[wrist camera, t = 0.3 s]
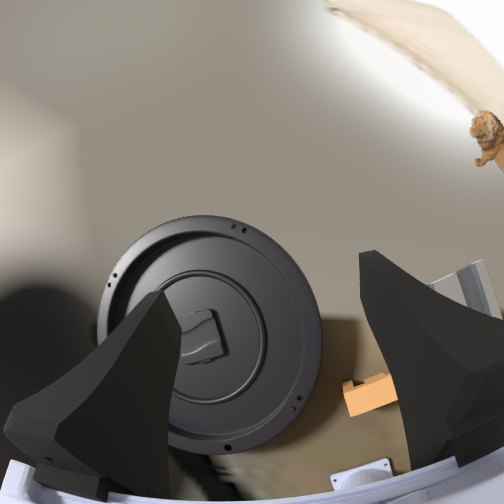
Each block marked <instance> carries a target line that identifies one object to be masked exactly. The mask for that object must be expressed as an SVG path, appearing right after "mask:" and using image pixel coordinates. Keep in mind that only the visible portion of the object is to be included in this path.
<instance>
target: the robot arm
mask: <svg viewBox="0 0 504 504" xmlns="http://www.w3.org/2000/svg"><path fill="white" fill-rule="evenodd" d="M359 268H360V298H361V302H362V305H363V308H364V311H365V315H366V318H367V321H368V323H369V325H370V328H371V330H372V332H373V334H374V337H375V339H376V341H377V343H378V346H379V348H380V350H381V352H382V355H383V357H384V359H385V362H386V364H387V366H388V369H389V372H390V374H391V377H392V380H393V384H394V387H395V391H396V395H397V398H398V402H399V406H400V411H401V415H402V419H403V424H404V429H405V434H406V439H407V444H408V451H409V457H410V464H411V472H408V473H405V474H402V475H399V476H395V477H393V475H392V471H391V467H390V463H389V460H388V458H383V459H381V460H378V461H375V462H372V463H369V464H366V465H363V466H359V467H356V468H353V469H350V470H346V471H343V472H339V473H336V474H332V475H331V477H330V478H331V482H332V485H333V487H334V490H335V491H332V492H326V493H320V494H314V495H307V496H300V497H292V498H282V499H271V500H258V501H234V502H204V501H181V500H180V501H179V500H171V494H170V484H169V471H168V425H169V410H170V403H171V397H172V392H173V387H174V382H175V377H176V372H177V367H178V362H179V357H180V351H181V336H182V328H181V326H180V324H179V322H178V320H177V318H176V316H175V314H174V312H173V310H172V308H171V306H170V303H169V301H168V299H167V297H166V295H165V293H164V291H163V290H160V291H154V292H149V293H148V294H147V295H146V296H145V297H144V298H143V299H142V300H141V301H140V302H139V303H138V304H137V305H136V306H135V307H134V308H133V309H132V311H131V312H130V313H129V314H128V315H127V316H126V317H125V318H124V320H123V321H122V322H121V323H120V324H119V325H118V326H117V327H116V328H115V330H114V331H113V332H112V333H111V334H110V335H109V336H108V337H107V338H106V339H105V340H104V341H103V342H102V343H101V344H100V345H99V346H98V347H97V348H96V349H95V350H94V351H93V352H92V353H91V354H90V355H89V356H87V357H86V358H85V359H84V360H83V361H82V362H81V363H79V364H78V365H77V366H76V367H74V368H73V369H72V370H71V371H69V372H68V373H67V374H65V375H64V376H63V377H61V378H60V379H58V380H57V381H55V382H54V383H53V384H51V385H50V386H48V387H46V388H45V389H43V390H42V391H40V392H38V393H36V394H34V395H33V396H31V397H28V398H27V399H25V400H23V401H21V402H19V403H16V404H15V405H14V406H13V408H12V411H11V413H10V415H9V417H8V419H7V422H6V424H5V426H4V433H5V435H6V437H7V438H8V439H9V440H10V441H11V442H12V443H13V444H14V445H15V446H16V447H18V448H19V449H20V450H21V451H23V452H24V453H25V454H27V455H28V456H29V457H31V458H32V459H33V460H35V461H36V462H38V464H37V467H36V469H35V468H33V467H31V466H29V465H26V464H24V463H21V462H18V461H15V460H11V461H10V463H9V466H8V469H7V472H6V475H5V478H4V481H3V484H2V487H1V491H0V504H504V320H502V319H499V318H496V317H492V316H490V315H487V314H484V313H481V312H479V311H476V310H474V309H471V308H469V307H466V306H464V305H462V304H460V303H458V302H456V301H454V300H452V299H450V298H448V297H446V296H444V295H442V294H440V293H438V292H437V291H435V290H433V289H431V288H430V287H428V286H427V285H425V284H423V283H422V282H420V281H419V280H417V279H416V278H414V277H412V276H411V275H410V274H408V273H406V272H405V271H404V270H402V269H401V268H400V267H398V266H397V265H395V264H394V263H393V262H391V261H390V260H388V259H387V258H386V257H384V256H383V255H382V254H380V253H379V252H377V251H376V250H372V251H368V252H363V253H359ZM386 463H387V465H384V464H386ZM334 479H336V481H334Z"/></svg>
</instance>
